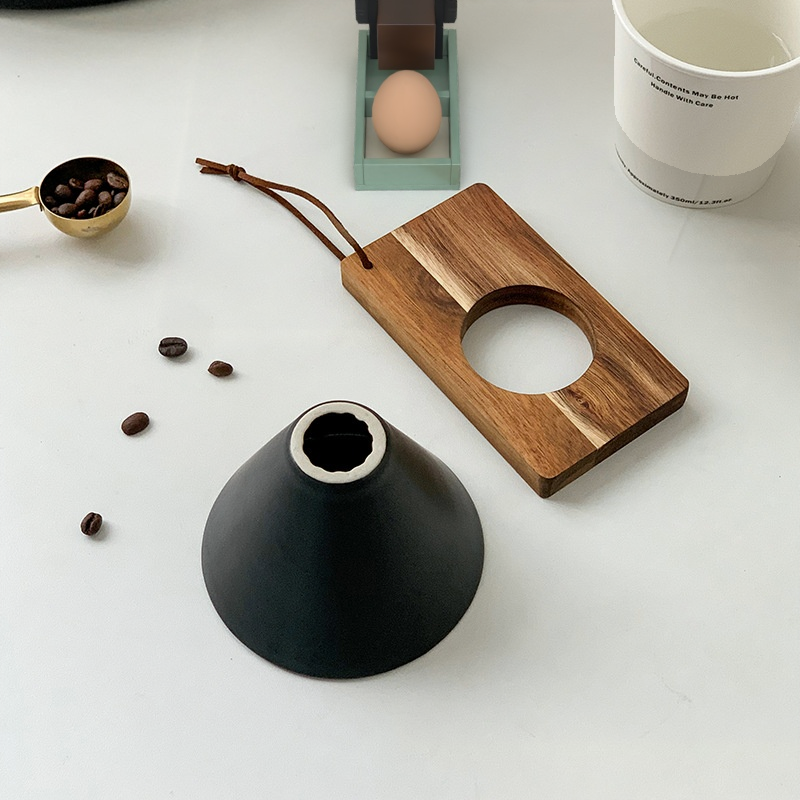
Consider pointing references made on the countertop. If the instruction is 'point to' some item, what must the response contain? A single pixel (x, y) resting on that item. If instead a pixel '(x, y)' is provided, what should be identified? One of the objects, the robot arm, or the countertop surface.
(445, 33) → the sorting tray
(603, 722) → the countertop surface
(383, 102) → the egg
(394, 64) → the walnut block
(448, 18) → the robot arm
